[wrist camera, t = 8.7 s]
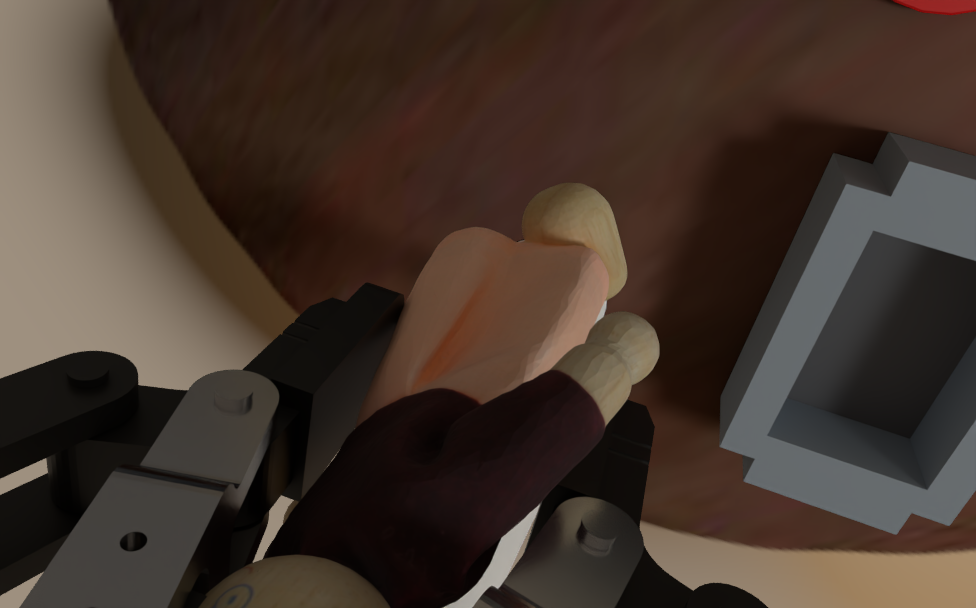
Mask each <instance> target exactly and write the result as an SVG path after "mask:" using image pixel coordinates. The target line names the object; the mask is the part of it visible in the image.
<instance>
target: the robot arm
mask: <svg viewBox="0 0 976 608" xmlns="http://www.w3.org/2000/svg"><path fill="white" fill-rule="evenodd" d="M403 307H404V295H403V294H400V293H397V292H394V291H391V290H388V289H386V288H383V287H380V286H377V285H374V284H371V283H365V284H364V285H362V286H361V287H360V288H359V290H358V291H357V292H356V293H355V294H354V295H353V296H352V297H351V298H350V299H349V300H348V301H347V302H344V301H341V300H338V299H335V298H330V299H328V300H325V301H323V302H320V303H317V304H315V305H312V306H310V307H309V308H308V309H307V310H305V311H304V312H303V313H302V314H301V315H300V316H299V317H298V318H297V319H296V320H295V322H294V323H292V324H291V325H289V326H288V327H287V328H286V329H285V330H284V331H283V334H282V335H281V334H280V335H279V336H278V337H277V338H276V339H275V340H274V341H273V342H272V343H270V344H269V345H268V346H267V347H266V348H265V349H264V350H263V351H262V352H261V353H260V354H259V355H258V356H257V357H255V358H254V359H253V360H252V361H251V362H250V363H249V364H248V365H247V366H246V367H245V368H244V369H243V370H223V371H217V372H214V373H210V374H208V375H205V376H203V377H202V378H200V379H198V380H197V381H196V382H195V383H194V384H193V385H192V386H191V387H190V388H189V390H174V389H165V388H157V387H148V386H140V385H138V372H137V369H136V367H135V366H134V364H133V363H132V362H130V360H128V359H126V358H125V357H123V356H120V355H118V354H114V353H110V352H103V351H84V352H77V353H73V354H69V355H65V356H63V357H60V358H57V359H54V360H51V361H48V362H45V363H43V364H40V365H37V366H34V367H31V368H29V369H26V370H23V371H20V372H17V373H15V374H12V375H9V376H6V377H3V378H1V379H0V478H3V477H5V476H7V475H9V474H11V473H14V472H16V471H18V470H20V469H23V468H25V467H27V466H29V465H31V464H34V463H36V462H38V461H40V460H43V459H45V458H46V459H47V468H48V473H47V474H45V475H43V476H40V477H38V478H36V479H34V480H32V481H30V482H28V483H25V484H23V485H21V486H19V487H17V488H15V489H12V490H10V491H8V492H6V493H4V494H2V495H0V595H2V594H4V593H6V592H7V591H9V590H11V589H13V588H15V587H17V586H18V585H20V584H22V583H24V582H25V581H27V580H29V579H31V578H33V577H35V576H36V575H38V574H40V573H42V572H44V573H43V574H42V576H41V577H40V578H39V580H38V582H37V583H36V584H35V586H34V587H33V589H32V590H31V592H30V593H29V595H28V596H27V598H26V599H25V600H24V602H23V603H22V605H21V606H20V608H199V606H200V605H201V604H202V602H203V601H204V600H205V598H206V597H207V596H206V594H207V593H208V592H209V591H210V590H211V589H213V588H214V587H215V586H216V585H218V584H219V583H220V582H221V581H223V580H224V579H225V578H227V577H228V576H230V575H231V574H233V573H234V572H236V571H238V570H240V569H241V568H243V567H245V566H247V565H249V564H251V563H253V560H254V558H255V555H256V552H257V550H258V547H259V545H260V542H261V540H262V537H263V535H264V532H265V530H266V527H267V524H268V519H269V510H270V509H271V507H272V506H273V505H274V504H275V502H276V501H277V500H278V498H279V497H280V496H281V495H282V496H285V497H288V498H290V499H293V500H295V501H298V502H299V501H300V500H301V499H302V498H303V497H304V496H305V494H306V493H307V492H308V490H309V489H310V488H311V487H312V486H313V484H314V483H315V482H316V481H317V479H318V478H319V477H320V475H321V474H322V473H323V471H324V470H325V469H326V467H327V466H328V465H329V463H330V462H331V460H332V459H333V458H334V456H335V455H336V454H337V452H338V451H339V449H340V448H341V446H342V445H343V443H344V441H345V440H346V438H347V436H348V435H349V434H350V433H351V432H352V431H353V430H354V429H355V427H356V423H357V419H358V415H359V411H360V408H361V405H362V403H363V400H364V398H365V396H366V394H367V391H368V389H369V387H370V385H371V382H372V380H373V378H374V375H375V373H376V370H377V368H378V366H379V364H380V362H381V361H382V359H383V357H384V355H385V353H386V351H387V349H388V346H389V344H390V341H391V339H392V336H393V333H394V331H395V328H396V325H397V322H398V319H399V316H400V314H401V312H402V309H403ZM654 428H655V427H654V424H653V422H652V419H651V417H650V415H649V412H648V410H647V407H646V406H644V405H641V404H638V403H635V402H633V401H630V400H626V402H625V403H624V404H623V406H622V407H621V408H620V409H619V411H618V412H617V413H616V414H615V415H614V417H613V418H612V419H611V420H610V421H609V422H608V424H607V425H606V428H605V432H604V435H603V437H602V439H601V440H600V441H599V443H598V444H597V445H596V446H595V447H594V448H593V449H592V450H591V451H590V452H589V454H588V455H587V456H586V457H585V458H584V459H583V460H581V461H580V462H579V463H578V464H577V465H576V466H575V467H574V468H573V469H572V470H571V471H570V472H569V473H568V474H567V475H566V476H565V477H564V478H563V479H562V480H561V481H560V482H559V483H558V484H557V485H556V486H555V487H554V488H553V489H552V490H551V491H550V492H549V494H548V495H547V496H546V497H545V498H544V499H543V501H542V502H541V503H540V506H539V509H538V512H537V515H536V518H535V521H534V524H533V527H532V530H531V533H530V537H529V539H528V543H527V546H526V549H525V552H524V554H523V556H522V557H521V559H520V560H519V561H518V563H517V564H516V565H515V567H514V568H513V570H512V571H511V572H510V574H509V575H508V576H507V578H506V579H505V580H504V582H503V583H502V585H501V586H500V587H499V588H498V589H497V588H496V587H494V586H490V587H489V588H488V589H487V590H486V591H485V592H484V593H483V594H482V595H481V597H480V598H479V599H478V601H477V602H476V603H475V605H474V606H473V607H472V608H768V607H767V606H766V605H765V604H764V603H762V602H761V601H760V600H759V599H758V598H756V597H755V596H753V595H752V594H750V593H748V592H746V591H745V590H743V589H740V588H738V587H735V586H732V585H729V584H722V583H709V584H704V585H702V586H699V587H698V588H697V589H695V590H694V591H693V590H691V589H690V588H688V587H687V586H685V585H684V584H682V583H680V582H679V581H678V580H676V579H675V578H673V577H672V576H670V575H669V574H668V573H666V572H665V571H664V570H663V569H662V568H661V567H660V566H659V565H657V563H656V562H655V561H654V560H653V559H652V558H651V556H650V555H649V553H648V552H647V550H646V548H645V546H644V542H643V537H642V534H641V531H640V527H639V526H640V519H641V512H642V506H643V499H644V493H645V486H646V480H647V473H648V467H649V466H648V464H649V460H650V454H651V447H652V441H653V435H654Z"/></svg>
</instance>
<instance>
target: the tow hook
mask: <svg viewBox="0 0 976 608" xmlns="http://www.w3.org/2000/svg"><path fill="white" fill-rule="evenodd" d="M892 1H894V2H896V3H899V4H901V5H904V6H906V7H909V8H912V9H914V10H917V11H919V12H923V13H934V14H945V15H955V14H961V13H967V12H974V11H976V0H892Z"/></svg>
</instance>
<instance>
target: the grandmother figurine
mask: <svg viewBox="0 0 976 608" xmlns="http://www.w3.org/2000/svg"><path fill="white" fill-rule="evenodd" d="M522 232H523V236H524V241H521V242H515V241H513V240H512V239H510V238H508V237H506V236H504V235H502V234H500V233H498V232H496V231H493V230H490V229H488V228H479V227H472V228H467V229H462V230H459V231H455V232H453V233H451V234H450V235H448V236H447V237H446V238H445V239H444V240H443V241H442V242H441V243H440V244H439V245H438V246H437V248H436V249H435V251H434V253H433V254H432V256H431V258H430V259H429V261H428V262H427V263H426V265H425V266H424V268H423V270H422V272H421V273H420V275H419V277H418V279H417V281H416V283H415V285H414V287H413V289H412V291H411V293H410V295H409V297H408V299H407V301H406V303H405V305H404V307H403V309H402V312H401V314H400V316H399V319H398V322H397V325H396V328H395V331H394V333H393V336H392V339H391V341H390V344H389V346H388V349H387V351H386V353H385V355H384V357H383V359H382V361H381V362H380V364H379V366H378V368H377V370H376V373H375V375H374V378H373V380H372V382H371V385H370V387H369V389H368V391H367V394H366V396H365V398H364V400H363V403H362V405H361V408H360V411H359V415H358V419H357V423H356V427H355V429H354V430H353V431H352V432H351V433H350V434H349V435H348V436H347V438H346V440H345V441H344V443H343V445H342V446H341V448H340V450H339V452H338V453H337V455H336V457H335V458H334V459H333V461H332V462H331V463H330V464H329V466H328V467H327V468H326V469H325V470H324V472H323V473H322V474H321V475H320V477H319V478H318V479H317V481H316V482H315V483H314V484H313V486H312V487H311V488H310V489H309V490H308V492H307V493H306V494H305V496H304V497H303V498H302V499H301V500H300V501H299V502H298V501H295V500H294V501H293V502H292V503H291V504H290V506H289V507H288V509H287V511H286V513H285V515H284V520H283V525H282V526H281V528H280V529H279V531H278V533H277V535H276V537H275V538H274V540H273V541H272V543H271V544H270V546H269V547H268V549H267V551H266V553H265V555H264V558H263V559H262V560H260V561H257V562H254V563H251V564H249V565H247V566H245V567H243V568H241V569H240V570H238V571H236V572H234V573H233V574H231V575H230V576H228V577H227V578H225V579H224V580H223V581H221V582H220V583H219V584H218V585H216V586H215V587H214V588H213V589H211V590H210V591H209V592H208V593H207V594H206V596H207V597H206V598H205V600H204V601H203V602H202V604H201V605H200V606H199V608H443V607H445V606H447V605H449V604H451V603H454V602H456V601H458V600H459V599H460V598H462V597H463V596H464V595H465V594H467V593H468V592H469V591H470V590H471V589H472V588H473V587H474V586H475V585H476V584H477V583H478V582H479V580H480V579H481V578H482V576H483V574H484V573H485V571H486V570H487V568H488V567H489V565H490V563H491V561H492V559H493V556H494V554H495V552H496V549H497V547H498V545H499V543H500V541H501V538H502V537H503V536H504V535H506V534H507V533H508V532H509V531H510V530H511V529H513V528H514V527H515V526H516V525H517V524H518V523H520V522H521V521H522V520H523V519H524V518H525V517H526V516H527V515H528V514H529V513H530V512H531V511H533V510H534V509H535V508H536V507H537V506H538V505H539V504H540V503H541V502H542V501H543V499H544V498H545V497H546V496H547V495H548V494H549V492H550V491H551V490H552V489H553V488H554V487H555V486H556V485H557V484H558V483H559V482H560V481H561V480H562V479H563V478H564V477H565V476H566V475H567V474H568V473H569V472H570V471H571V470H572V469H573V468H574V467H575V466H576V465H577V464H578V463H579V462H580V461H581V460H583V459H584V458H585V457H586V456H587V455H588V454H589V452H590V451H591V450H592V449H593V448H594V447H595V446H596V445H597V444H598V443H599V441H600V440H601V439H602V437H603V435H604V432H605V428H606V425H607V424H608V422H609V421H610V420H611V419H612V418H613V417H614V415H615V414H616V413H617V412H618V411H619V409H620V408H621V407H622V406H623V404H624V403H625V402H626V400H627V398H628V396H629V394H630V391H631V386H632V385H633V384H636V383H638V382H639V381H641V380H642V379H644V378H645V377H646V376H647V375H648V374H649V373H650V372H651V371H652V370H653V368H654V366H655V364H656V362H657V360H658V358H659V341H658V338H657V334H656V332H655V330H654V328H653V327H652V326H651V325H650V324H649V323H648V322H647V321H646V320H645V319H643V318H641V317H639V316H638V315H636V314H633V313H630V312H624V311H623V312H615V313H612V314H608V315H606V316H604V317H603V318H601V319H600V320H598V321H597V322H596V319H597V317H598V315H599V313H600V310H601V308H602V306H603V304H604V302H605V301H606V300H608V299H610V298H611V297H613V296H615V295H616V294H617V293H618V292H619V291H620V290H621V289H622V288H623V286H624V285H625V282H626V279H627V267H626V261H625V257H624V253H623V249H622V245H621V241H620V237H619V233H618V229H617V226H616V222H615V219H614V215H613V212H612V210H611V207H610V205H609V204H608V202H607V201H606V200H605V198H604V197H603V196H602V195H601V194H600V193H598V192H597V191H596V190H595V189H593V188H591V187H589V186H586V185H584V184H580V183H563V184H559V185H556V186H553V187H550V188H548V189H546V190H544V191H542V192H540V193H538V194H537V195H536V196H535V197H534V198H533V199H532V200H531V201H530V202H529V204H528V205H527V207H526V210H525V212H524V214H523V219H522ZM595 322H596V323H595ZM594 324H595V325H594Z"/></svg>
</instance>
